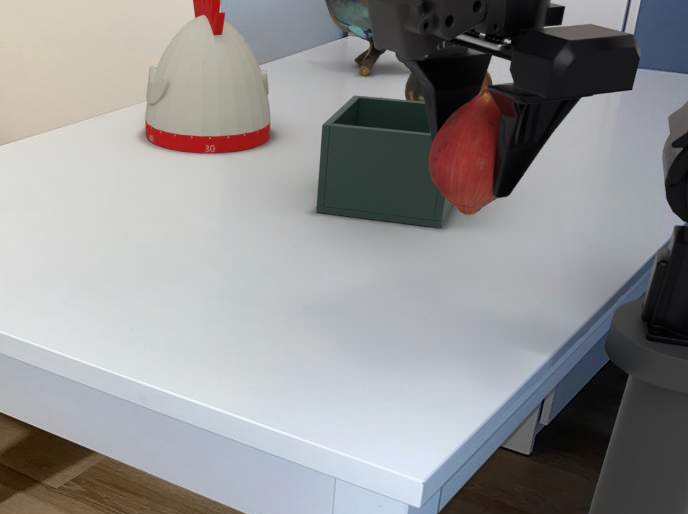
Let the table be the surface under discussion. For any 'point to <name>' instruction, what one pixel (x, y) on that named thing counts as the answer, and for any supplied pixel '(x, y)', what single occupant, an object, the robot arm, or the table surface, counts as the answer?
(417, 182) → the open green box
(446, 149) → the onion
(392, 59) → the table surface
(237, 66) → the kitchen timer
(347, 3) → the bird figurine
